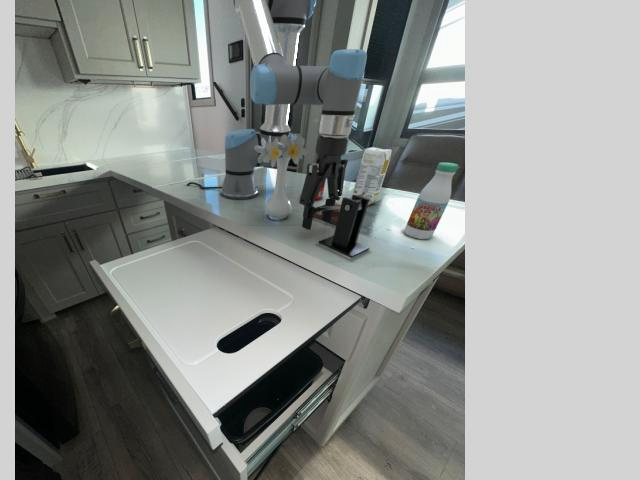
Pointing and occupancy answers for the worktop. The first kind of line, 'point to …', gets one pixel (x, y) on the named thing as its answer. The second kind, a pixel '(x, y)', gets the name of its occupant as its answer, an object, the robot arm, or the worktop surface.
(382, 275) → the worktop surface
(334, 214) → the control block
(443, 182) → the milk bottle
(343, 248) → the bracket
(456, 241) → the worktop surface
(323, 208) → the lever
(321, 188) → the canned food
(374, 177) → the juice carton
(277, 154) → the flower vase
